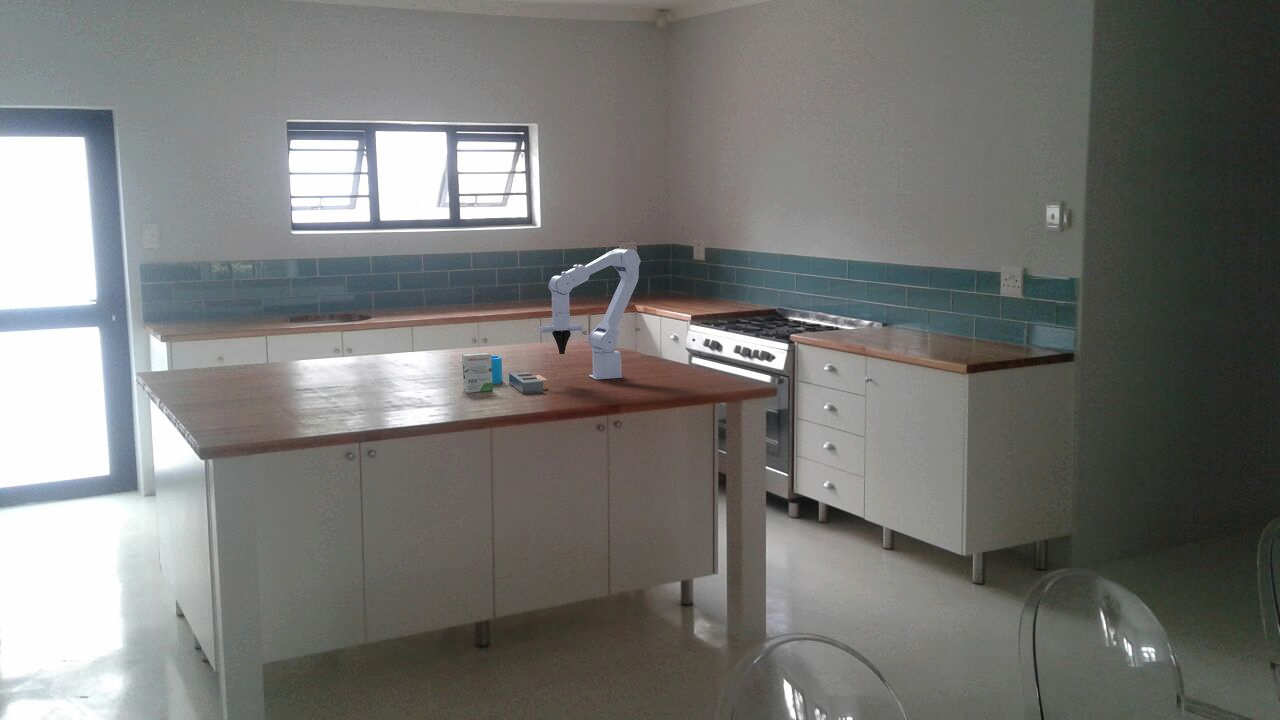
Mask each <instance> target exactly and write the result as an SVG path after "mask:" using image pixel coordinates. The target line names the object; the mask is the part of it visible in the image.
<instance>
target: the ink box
mask: <svg viewBox="0 0 1280 720" xmlns="http://www.w3.org/2000/svg"><path fill="white" fill-rule="evenodd" d="M491 356H492V354H490V353H489V352H482V353H464V354H461V358H462V359H461V360H462V363H461V364H462V381H463V384H462V385H463V392H465V393H467V394H469V393H479V392H491V391H493V390H494V386H493V385H494V384H493V382H492V361H491Z"/></svg>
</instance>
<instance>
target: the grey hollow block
mask: <svg viewBox="0 0 1280 720" xmlns="http://www.w3.org/2000/svg"><path fill="white" fill-rule="evenodd" d="M508 380H509V382H508V384H509V385H510V386H512V387H513V388H514V389H516V390H517V391H519V392H520V393H521V394H522V395H524V394H525V395H526V394H537V393H544V389H543V381H542V380H540V379H537V377H536V376H533V375H532V373H531V372H530V371H521V372H518V371H517V372H508Z"/></svg>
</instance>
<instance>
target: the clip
mask: <svg viewBox="0 0 1280 720" xmlns="http://www.w3.org/2000/svg"><path fill="white" fill-rule="evenodd" d="M532 376H536V377H537V379H540V380H542V381H543V390H548V379H547V378H545V377H543V376H542V375H540V374H537V375H532Z"/></svg>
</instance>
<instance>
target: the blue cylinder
mask: <svg viewBox="0 0 1280 720" xmlns="http://www.w3.org/2000/svg"><path fill="white" fill-rule="evenodd" d="M502 359H503V357H502V356H501V355H491V361H492V382H493V385H494V384H501V383H503V360H502Z"/></svg>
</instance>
